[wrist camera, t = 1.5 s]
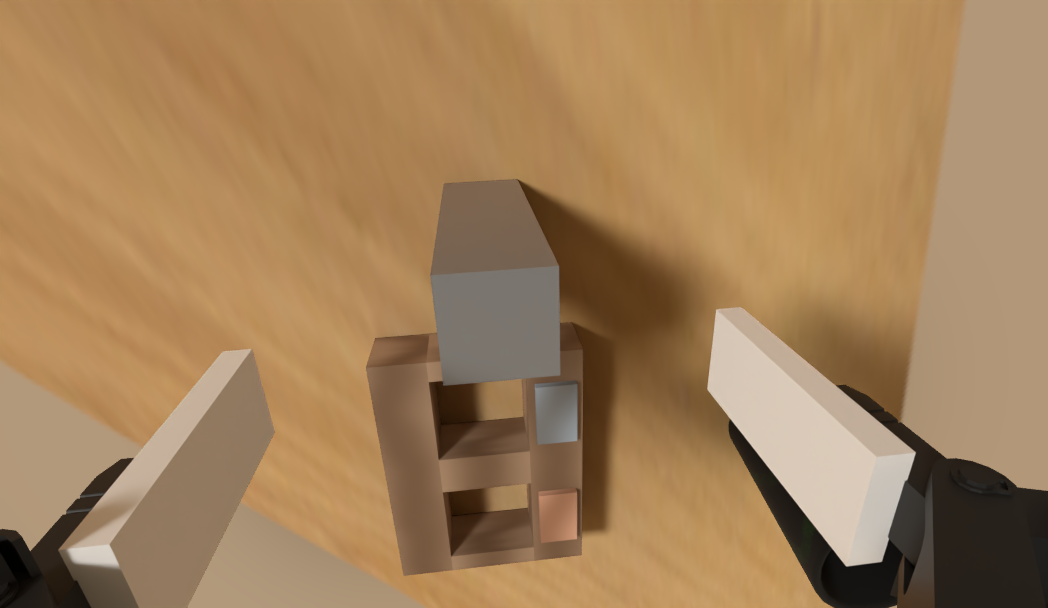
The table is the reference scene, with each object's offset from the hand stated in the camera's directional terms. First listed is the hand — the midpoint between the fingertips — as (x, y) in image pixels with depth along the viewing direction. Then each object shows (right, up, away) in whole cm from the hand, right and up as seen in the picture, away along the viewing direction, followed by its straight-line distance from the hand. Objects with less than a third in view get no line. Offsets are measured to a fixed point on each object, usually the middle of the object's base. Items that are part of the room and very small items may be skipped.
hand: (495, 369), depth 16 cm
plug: (-1, +7, +15) cm, 16 cm away
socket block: (-2, -7, +21) cm, 22 cm away
